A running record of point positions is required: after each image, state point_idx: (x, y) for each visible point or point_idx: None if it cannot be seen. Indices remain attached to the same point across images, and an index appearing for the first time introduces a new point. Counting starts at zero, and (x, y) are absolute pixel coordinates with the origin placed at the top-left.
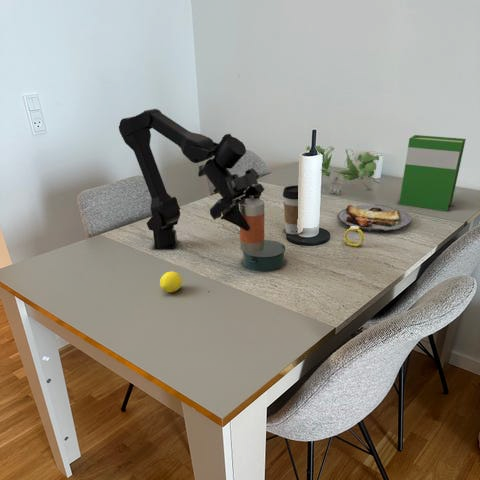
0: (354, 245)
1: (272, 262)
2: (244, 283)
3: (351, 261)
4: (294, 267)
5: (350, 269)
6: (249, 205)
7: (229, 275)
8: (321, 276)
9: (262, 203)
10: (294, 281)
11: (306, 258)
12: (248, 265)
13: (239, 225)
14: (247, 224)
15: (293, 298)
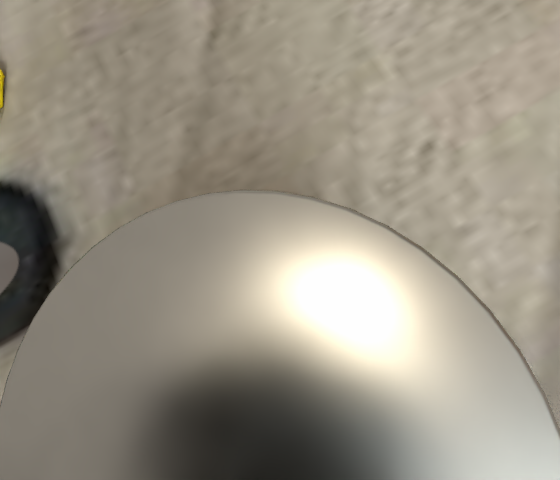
0: (2, 83)
1: None
2: (481, 274)
3: (111, 34)
4: (240, 172)
5: (167, 5)
6: (497, 431)
7: None
8: (262, 52)
9: (208, 211)
10: (349, 109)
11: (151, 174)
12: None
13: None
14: None
15: (485, 36)
